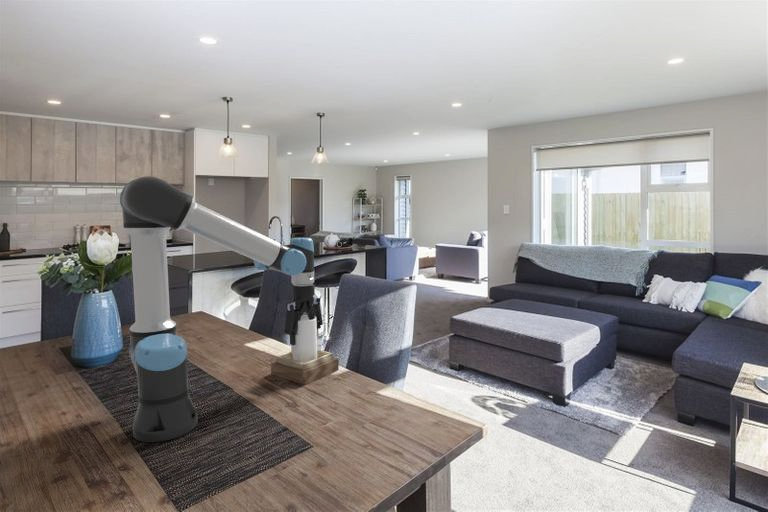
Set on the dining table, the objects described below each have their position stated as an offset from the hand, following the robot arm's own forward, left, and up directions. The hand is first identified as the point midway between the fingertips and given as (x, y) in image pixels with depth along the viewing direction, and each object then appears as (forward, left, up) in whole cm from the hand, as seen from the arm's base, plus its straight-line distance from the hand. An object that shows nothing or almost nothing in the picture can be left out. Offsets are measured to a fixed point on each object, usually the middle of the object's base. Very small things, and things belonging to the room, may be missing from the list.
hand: (304, 350), depth 151 cm
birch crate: (0, 0, -8) cm, 8 cm away
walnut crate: (0, 0, -9) cm, 9 cm away
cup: (0, 0, -5) cm, 5 cm away
